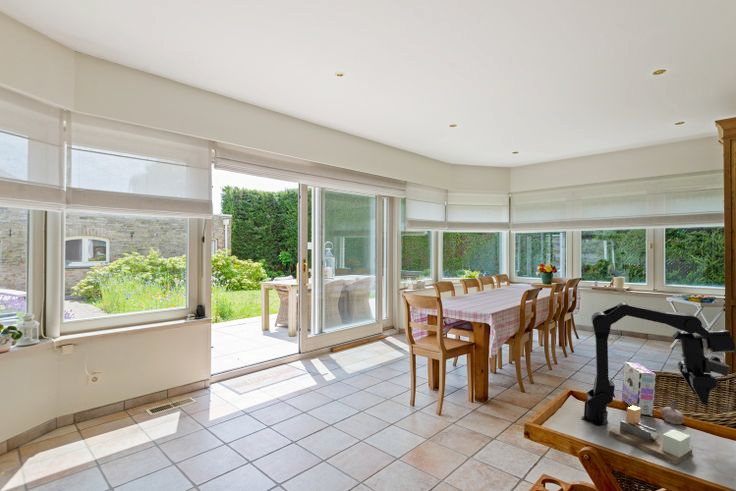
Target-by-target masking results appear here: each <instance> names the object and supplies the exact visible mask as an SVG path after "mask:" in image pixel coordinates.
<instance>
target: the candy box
mask: <svg viewBox="0 0 736 491" xmlns="http://www.w3.org/2000/svg"><path fill="white" fill-rule="evenodd" d="M622 374H623V377H622V393H621V395H622V396H621V401H625V402H627V403H628V404H631V405H634V406H637V407H639V408H641V414H640V416H647V417H648V416H649V417H654V412H655V411H654V409H655V407H654V406H655V394H656V381H657V380H656V379H657V374H656V373H654V372H653V371H651V370H650V369H648V368H646V367H645V366H643V365H642V364H641V363H639V362H633V361H632V362H631V361H630V362H629V361H624V362H623V373H622ZM625 402H624V403H625Z"/></svg>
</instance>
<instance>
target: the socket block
mask: <svg viewBox="0 0 736 491" xmlns="http://www.w3.org/2000/svg"><path fill="white" fill-rule="evenodd" d="M662 437H663V443H662V450H663V451H665V452H668V453H670V454H672V455H675V456H677V457H681V456H683V455H684V454H686V453H687V452H689V448H690V442H691V435H690V434H686V433H684V432H681V431H679V430H676V429H674V428H673V429H671V430H668V431H667V432H665V433H663V435H662Z"/></svg>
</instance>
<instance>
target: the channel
mask: <svg viewBox="0 0 736 491" xmlns="http://www.w3.org/2000/svg"><path fill="white" fill-rule="evenodd" d="M638 425H639V426H641V427H644V428H646V429H649V430H651V431H654V432H656V433H657V430H656V428H652V427H649V426H648V425H644V424H643V423H640V422H639V423H638ZM619 426H620V430H622V431H624V432H626V433H629V434H631V435H633V436H636V437H638V438H640V439H643V440H645V441H647V442H652V441H654V440H653V439H651V432H648V431H646V430H643V429H641V428H639V427H636V426H634V425H631V424H629V423H626V422H624V421H622V420H620V421H619Z"/></svg>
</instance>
